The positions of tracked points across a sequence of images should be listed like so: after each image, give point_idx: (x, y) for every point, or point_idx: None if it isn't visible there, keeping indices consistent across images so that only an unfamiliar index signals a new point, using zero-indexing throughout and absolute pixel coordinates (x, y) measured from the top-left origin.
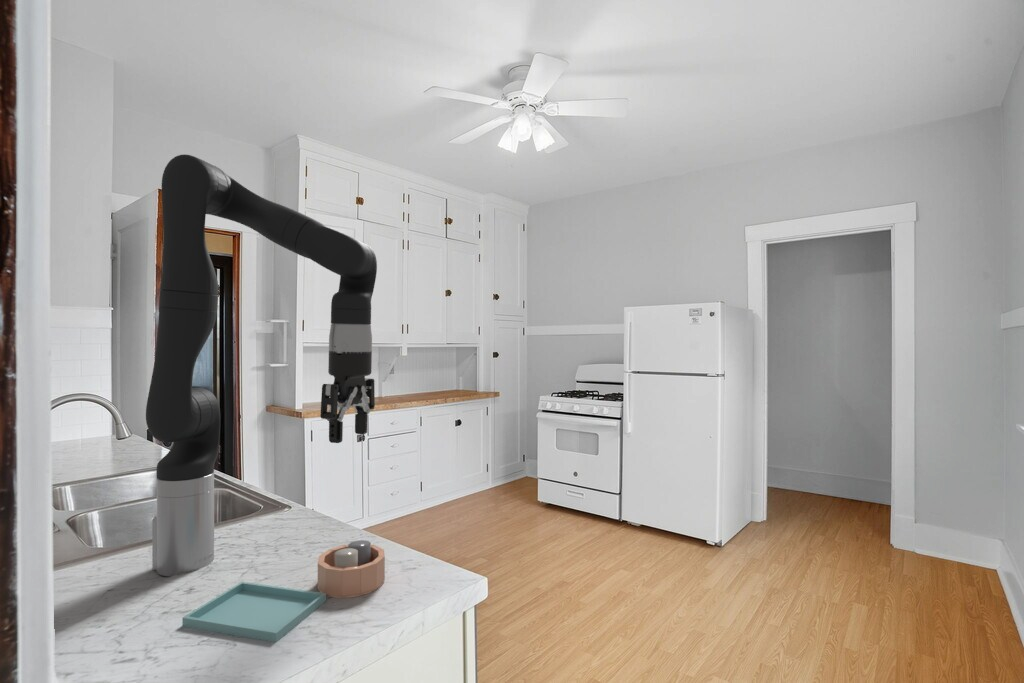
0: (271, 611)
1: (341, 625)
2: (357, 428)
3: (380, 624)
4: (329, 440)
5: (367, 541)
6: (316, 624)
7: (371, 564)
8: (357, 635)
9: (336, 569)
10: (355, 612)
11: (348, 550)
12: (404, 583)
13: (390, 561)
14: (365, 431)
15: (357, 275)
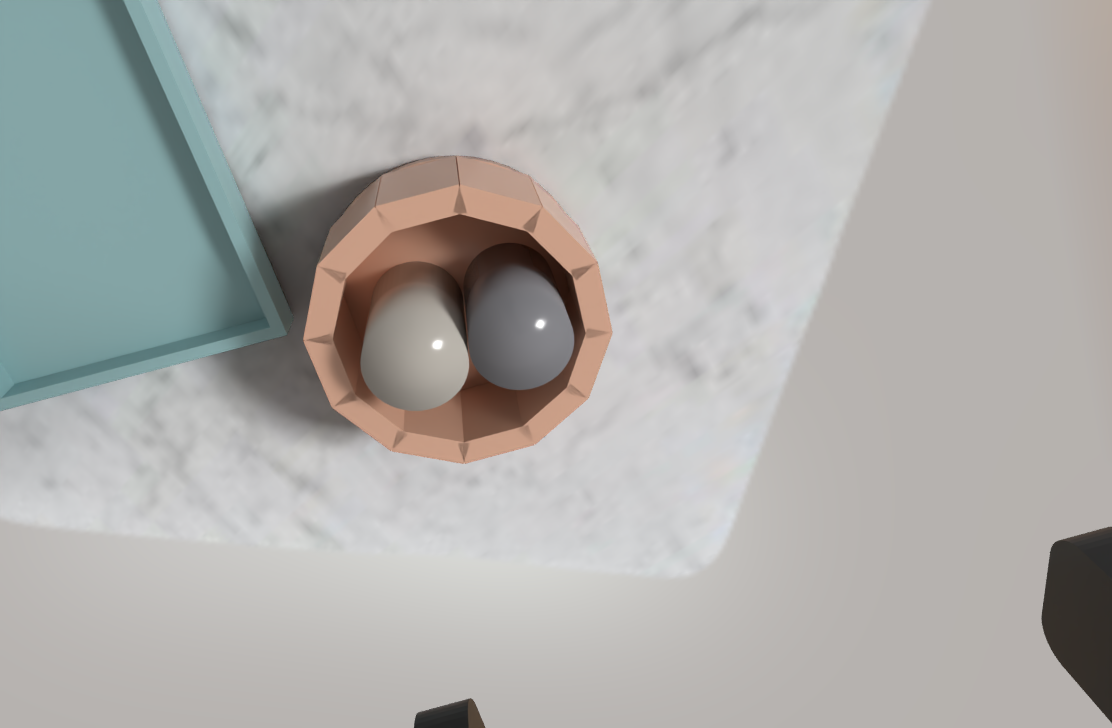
0: (96, 215)
1: (241, 451)
2: (1109, 610)
3: (322, 531)
4: (414, 725)
5: (568, 349)
6: (189, 386)
7: (443, 457)
8: (236, 523)
9: (324, 382)
10: (325, 429)
11: (439, 355)
12: (573, 422)
13: (711, 255)
14: (1068, 669)
15: None
